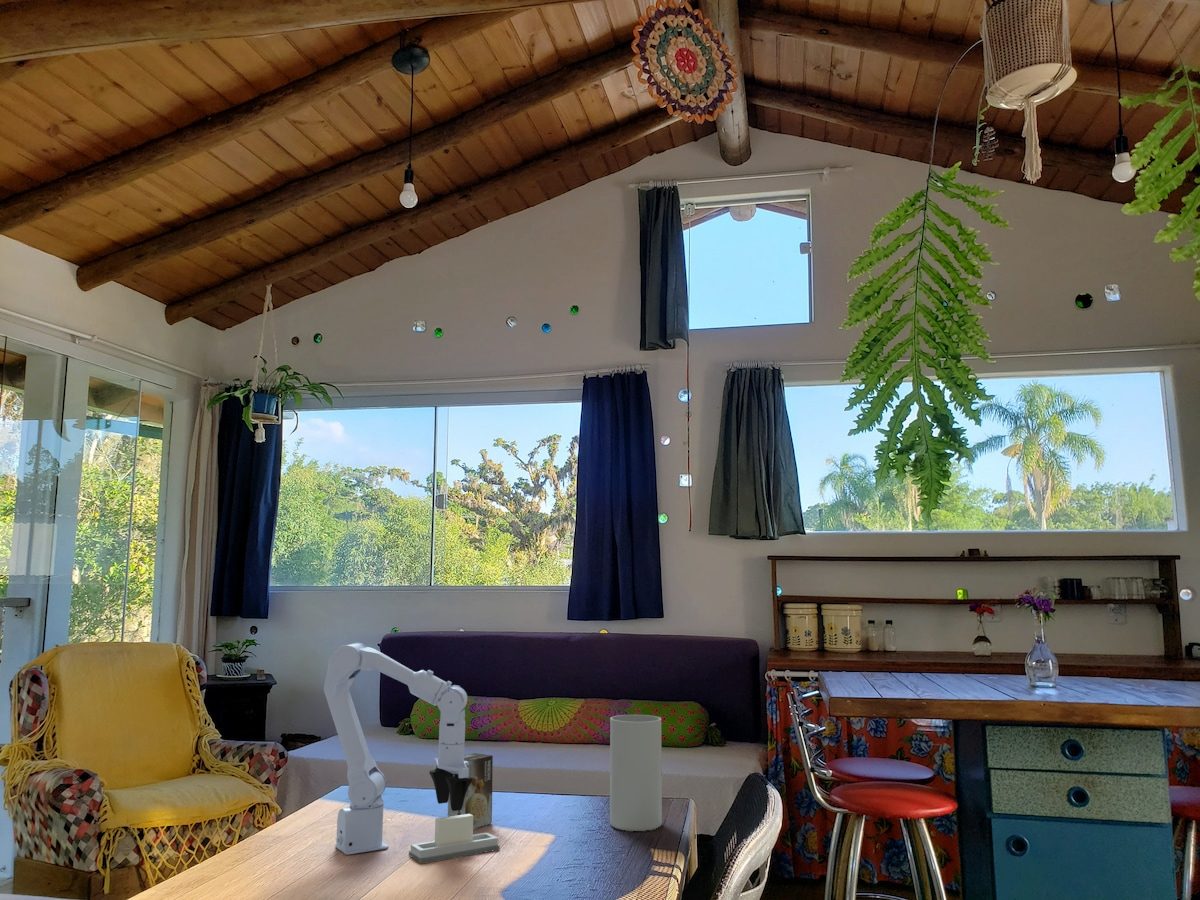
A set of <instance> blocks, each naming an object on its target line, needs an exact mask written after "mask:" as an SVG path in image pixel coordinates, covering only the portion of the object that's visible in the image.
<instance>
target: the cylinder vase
mask: <svg viewBox="0 0 1200 900" xmlns="http://www.w3.org/2000/svg"><path fill="white" fill-rule="evenodd" d="M609 720H610V721H609V722H610V723H609V724H610V725H609V726H610V727H609V728H610V729H609V730H610V731H609V733H610V734H609V735H610V736H609V738H610V739H609V742H610V743H609V745H610V747H609V752H610V753H609V758H610V759H609V823H610V825H611V827H613V828H615V829H617V830H620V831H624V830H625V831H624V832H633V831H642V832H647V831H646V830H650V831H653V830H652V829H654V830H657V829H659V828H660V827H661V826H662V823H663V816H662V815H663V809H662V808H663V807H662V806H663V805H662V804H663V801H662V800H663V798H662V796H663V794H662V789H663V787H662V785H663V783H662V781H663V779H662V765H663V764H662V758H663V757H662V717H660V716H656V715H650V714H648V715H647V714H620V715H613V716H611V717H610V718H609ZM658 827H659V828H658ZM656 828H657V829H656Z"/></svg>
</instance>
